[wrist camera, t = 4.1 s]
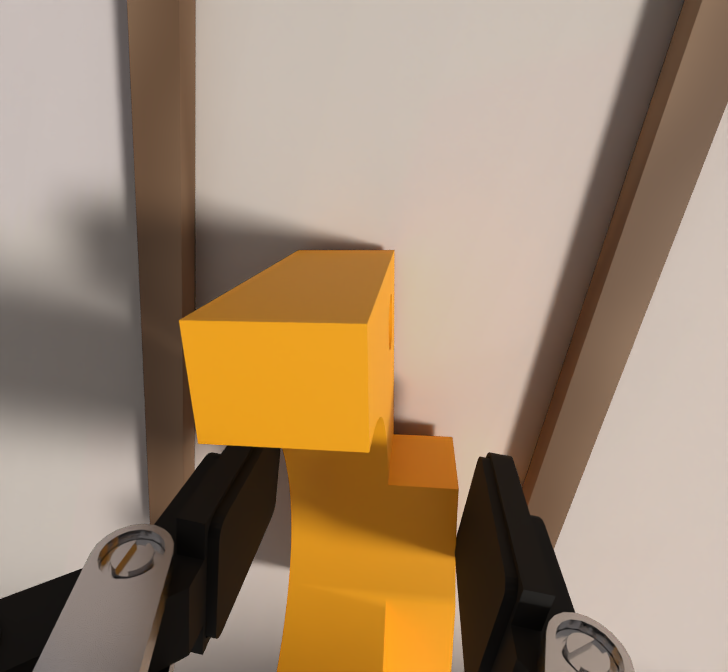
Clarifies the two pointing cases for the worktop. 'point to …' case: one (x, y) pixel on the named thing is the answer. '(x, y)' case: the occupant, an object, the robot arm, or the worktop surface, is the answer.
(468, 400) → the worktop surface
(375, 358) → the pipe clamp
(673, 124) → the rail
